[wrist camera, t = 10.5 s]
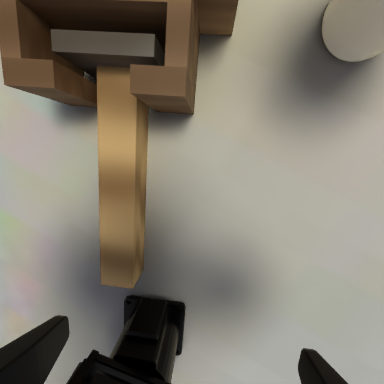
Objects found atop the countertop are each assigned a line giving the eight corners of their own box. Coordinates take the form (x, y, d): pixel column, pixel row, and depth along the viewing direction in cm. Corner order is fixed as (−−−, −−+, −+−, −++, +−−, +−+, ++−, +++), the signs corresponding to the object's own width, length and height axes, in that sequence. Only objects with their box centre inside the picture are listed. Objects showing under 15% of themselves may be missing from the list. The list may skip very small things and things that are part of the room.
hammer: (159, 271, 21) (144, 308, 16) (99, 263, 21) (67, 297, 17) (171, 67, 17) (154, 34, 12) (96, 62, 17) (50, 29, 12)
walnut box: (223, 116, 17) (236, 82, 8) (45, 103, 18) (-110, 62, 9) (235, 4, 15) (268, -189, 6) (37, -2, 16) (-163, -174, 8)
